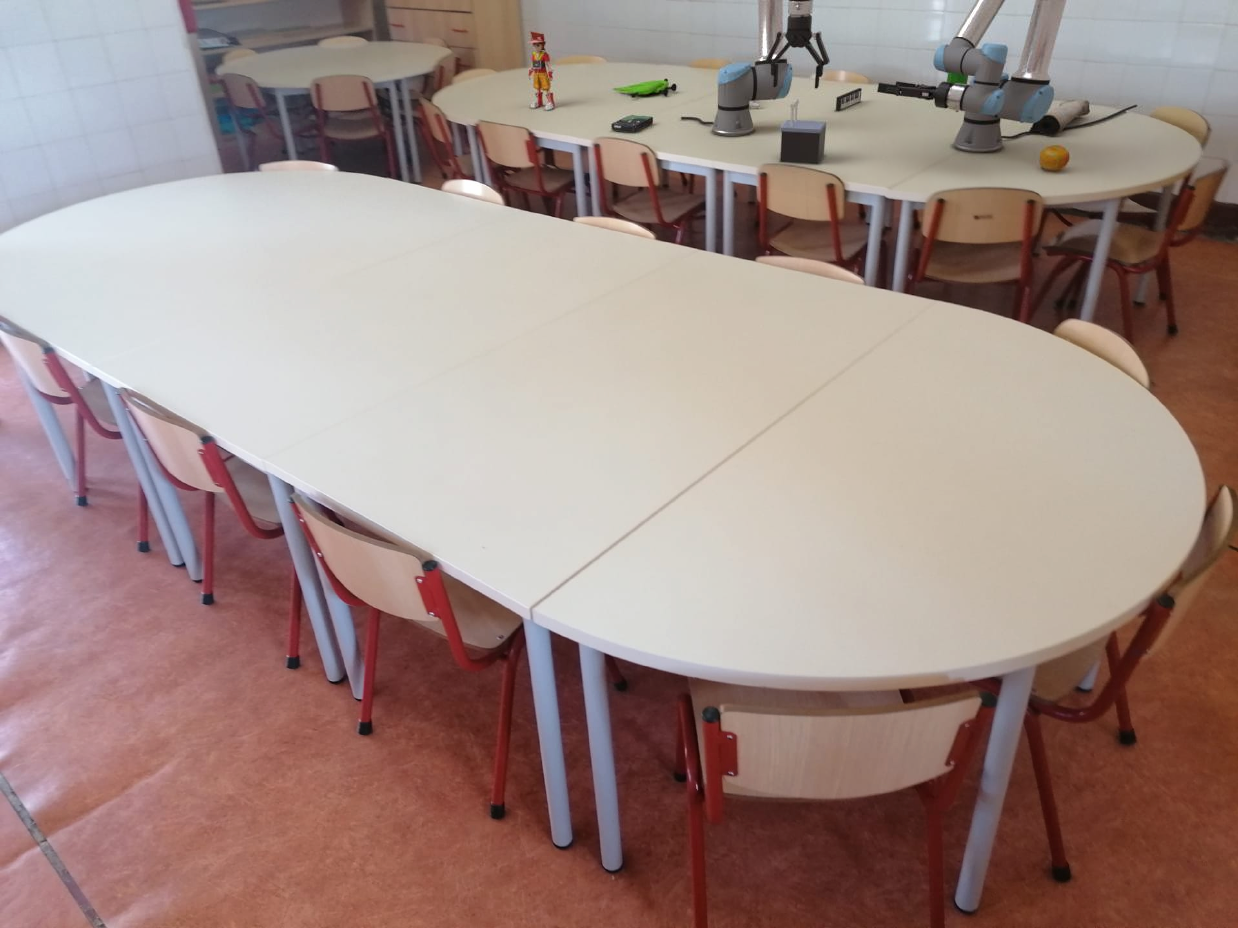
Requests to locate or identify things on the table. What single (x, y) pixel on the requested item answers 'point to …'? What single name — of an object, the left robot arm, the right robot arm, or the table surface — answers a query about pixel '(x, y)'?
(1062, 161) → the fruit
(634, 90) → the toy
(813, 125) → the lid
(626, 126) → the disk drive
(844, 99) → the midi keyboard
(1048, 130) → the rolled mat
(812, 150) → the chest
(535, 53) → the toy
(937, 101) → the right robot arm
